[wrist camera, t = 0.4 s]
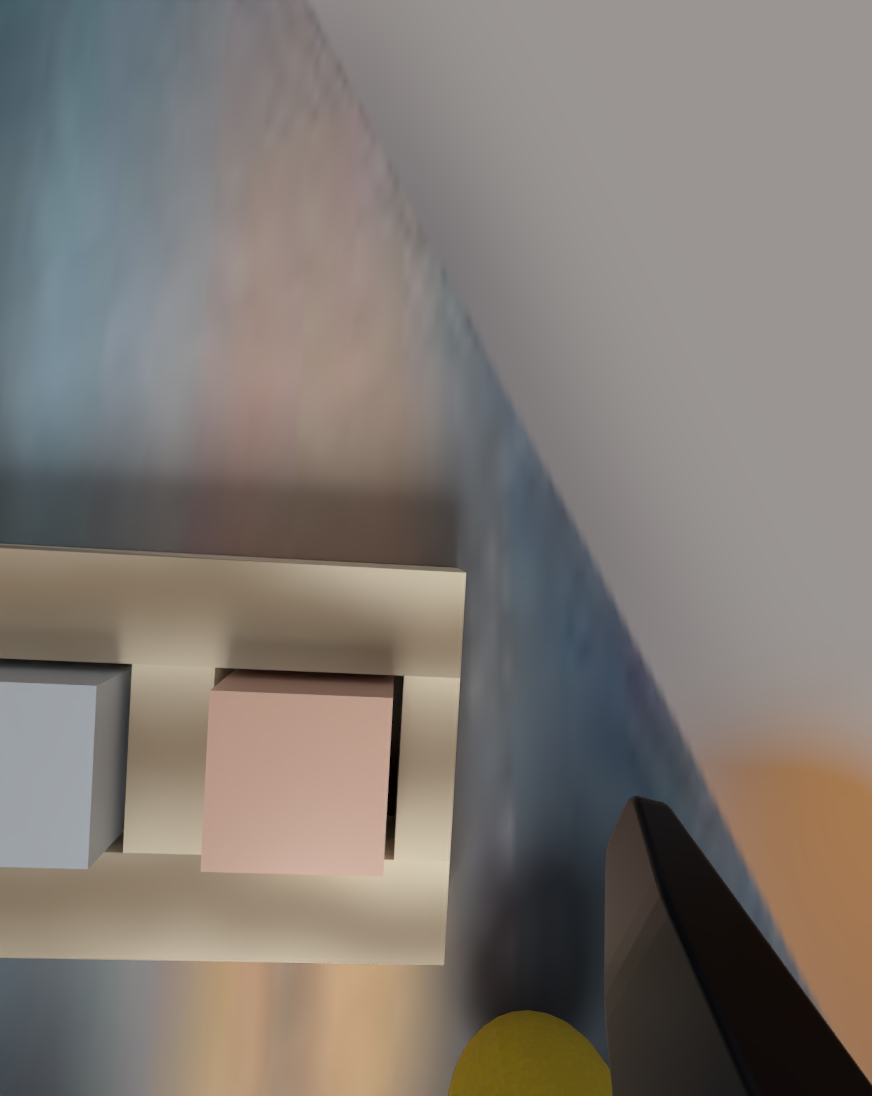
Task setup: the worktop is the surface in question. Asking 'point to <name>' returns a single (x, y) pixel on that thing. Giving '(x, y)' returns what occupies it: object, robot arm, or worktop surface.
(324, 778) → the clay button
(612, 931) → the robot arm
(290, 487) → the worktop surface
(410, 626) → the button board
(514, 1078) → the lemon
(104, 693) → the grey button
